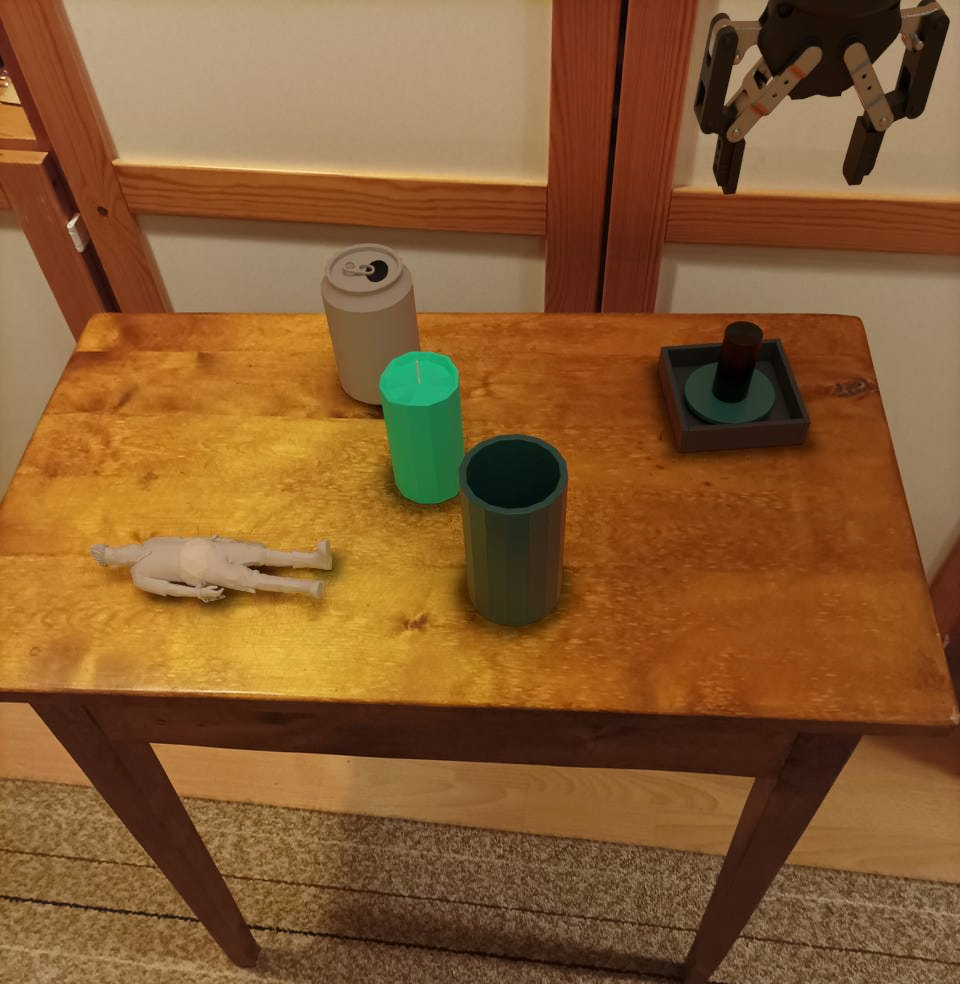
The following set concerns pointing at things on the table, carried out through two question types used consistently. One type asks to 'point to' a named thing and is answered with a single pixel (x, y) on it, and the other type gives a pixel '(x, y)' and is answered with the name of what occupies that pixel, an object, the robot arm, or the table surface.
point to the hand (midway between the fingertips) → (789, 183)
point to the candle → (424, 425)
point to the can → (368, 315)
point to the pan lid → (732, 381)
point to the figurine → (212, 566)
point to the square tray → (697, 434)
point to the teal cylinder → (514, 527)
